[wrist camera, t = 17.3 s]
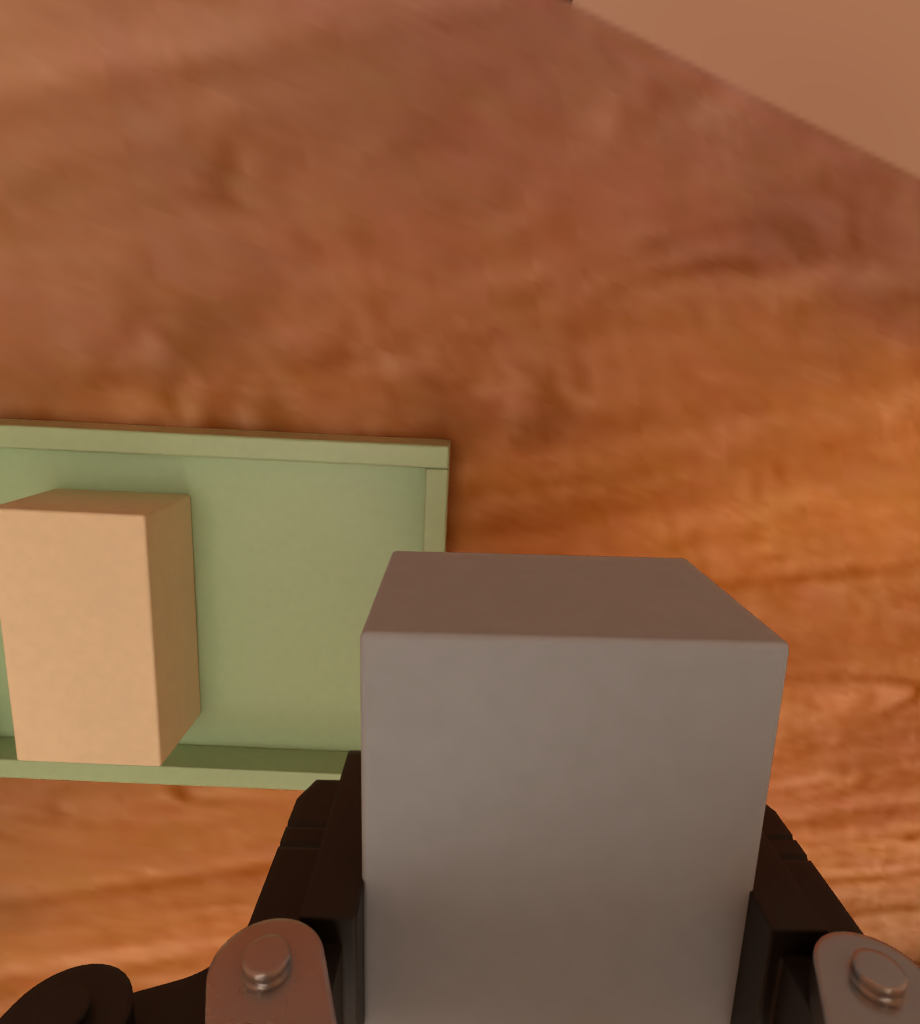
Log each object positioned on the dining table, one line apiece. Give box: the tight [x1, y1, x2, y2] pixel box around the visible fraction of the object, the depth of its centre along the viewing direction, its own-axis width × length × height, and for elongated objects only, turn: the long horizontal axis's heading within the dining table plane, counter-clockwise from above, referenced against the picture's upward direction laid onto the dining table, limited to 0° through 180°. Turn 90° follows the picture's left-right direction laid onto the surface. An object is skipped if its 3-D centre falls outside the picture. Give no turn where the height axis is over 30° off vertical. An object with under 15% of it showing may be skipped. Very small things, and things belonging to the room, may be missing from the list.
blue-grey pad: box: [360, 551, 789, 1024], centre depth 10 cm, size 9×5×4 cm, turn 178°
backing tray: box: [0, 418, 451, 790], centre depth 24 cm, size 14×19×2 cm
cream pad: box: [0, 488, 201, 766], centre depth 22 cm, size 9×5×4 cm, turn 177°
